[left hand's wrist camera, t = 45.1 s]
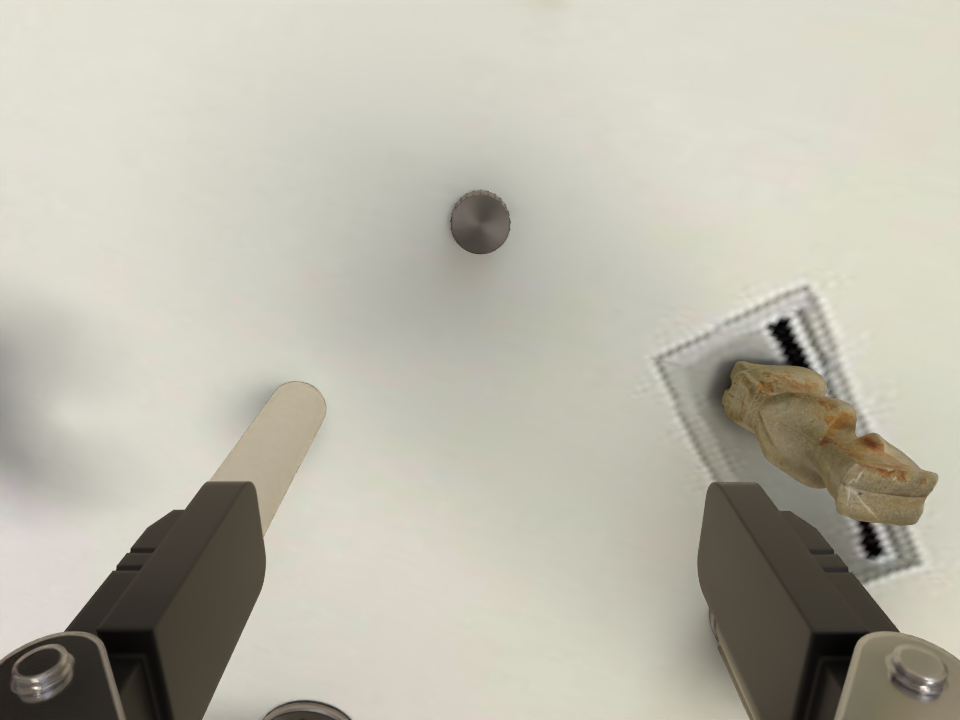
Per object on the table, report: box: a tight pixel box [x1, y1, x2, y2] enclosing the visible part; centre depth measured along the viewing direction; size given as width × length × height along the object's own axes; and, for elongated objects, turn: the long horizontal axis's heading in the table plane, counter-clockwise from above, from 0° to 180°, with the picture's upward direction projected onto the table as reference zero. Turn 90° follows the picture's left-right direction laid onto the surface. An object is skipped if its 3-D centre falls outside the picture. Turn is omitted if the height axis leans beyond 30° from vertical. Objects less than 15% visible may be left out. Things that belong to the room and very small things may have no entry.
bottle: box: [210, 382, 326, 537], centre depth 38 cm, size 4×4×24 cm
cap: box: [450, 190, 511, 254], centre depth 43 cm, size 4×4×2 cm
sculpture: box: [722, 361, 938, 526], centre depth 41 cm, size 6×7×15 cm
